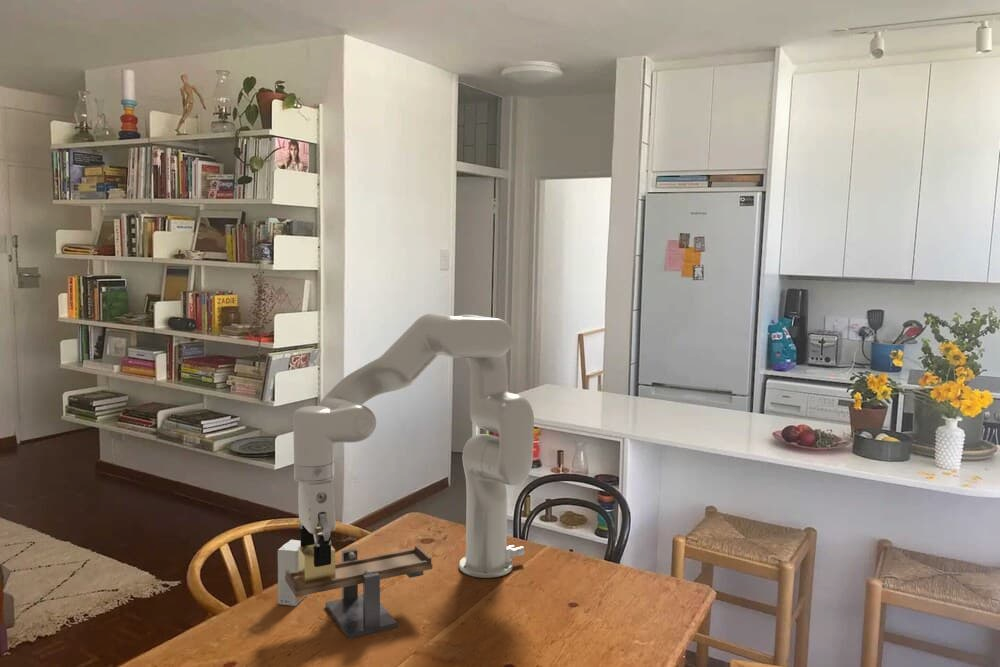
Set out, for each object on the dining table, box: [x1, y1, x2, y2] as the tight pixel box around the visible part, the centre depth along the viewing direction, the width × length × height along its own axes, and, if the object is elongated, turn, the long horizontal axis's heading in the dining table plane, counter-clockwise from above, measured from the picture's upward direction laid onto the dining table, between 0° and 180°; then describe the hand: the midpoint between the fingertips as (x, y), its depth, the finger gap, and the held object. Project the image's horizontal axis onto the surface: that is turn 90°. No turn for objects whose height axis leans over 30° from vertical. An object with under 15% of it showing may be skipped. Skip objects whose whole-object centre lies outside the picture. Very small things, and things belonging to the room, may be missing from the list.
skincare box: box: [277, 539, 308, 607], centre depth 165 cm, size 6×4×12 cm
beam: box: [285, 544, 433, 597], centre depth 157 cm, size 28×11×4 cm, turn 119°
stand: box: [325, 548, 398, 640], centre depth 158 cm, size 10×15×12 cm, turn 29°
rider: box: [298, 544, 336, 585], centre depth 153 cm, size 6×5×6 cm
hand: (315, 556), depth 152 cm, fingers open, 9 cm apart
